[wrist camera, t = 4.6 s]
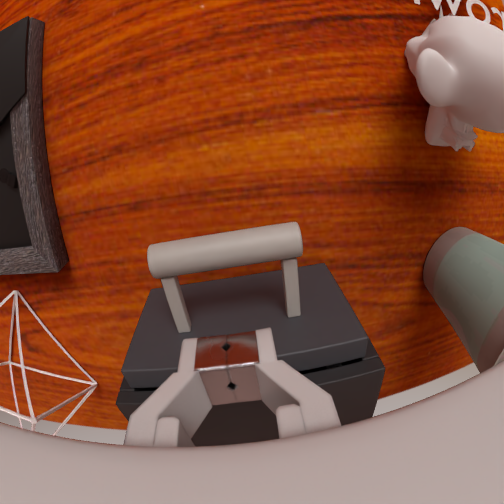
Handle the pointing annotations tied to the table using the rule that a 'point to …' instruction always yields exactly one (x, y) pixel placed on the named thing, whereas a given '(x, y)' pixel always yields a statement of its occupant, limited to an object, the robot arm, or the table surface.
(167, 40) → the table surface
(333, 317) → the open drawer with handle
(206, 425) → the dark grey box
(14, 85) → the picture frame
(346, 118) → the table surface
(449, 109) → the figurine
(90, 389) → the geometric polyhedron
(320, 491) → the robot arm
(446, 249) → the coffee cup
